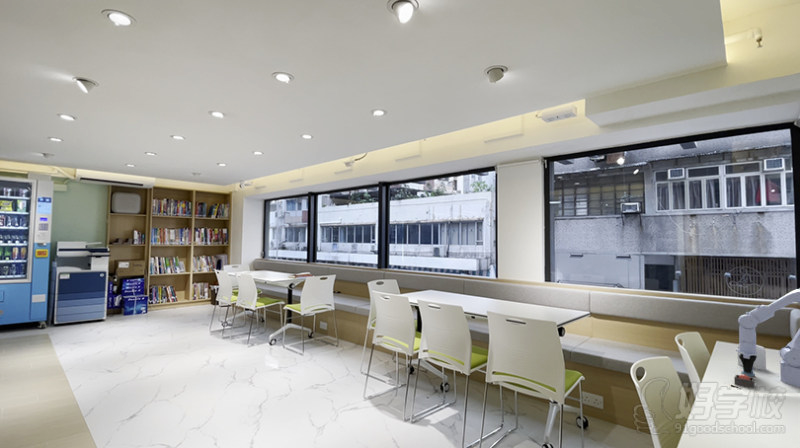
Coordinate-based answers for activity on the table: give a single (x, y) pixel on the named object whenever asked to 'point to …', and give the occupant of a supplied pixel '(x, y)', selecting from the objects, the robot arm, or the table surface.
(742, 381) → the game board
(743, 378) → the dome
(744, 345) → the robot arm
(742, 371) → the pawn
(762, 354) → the photo printer
